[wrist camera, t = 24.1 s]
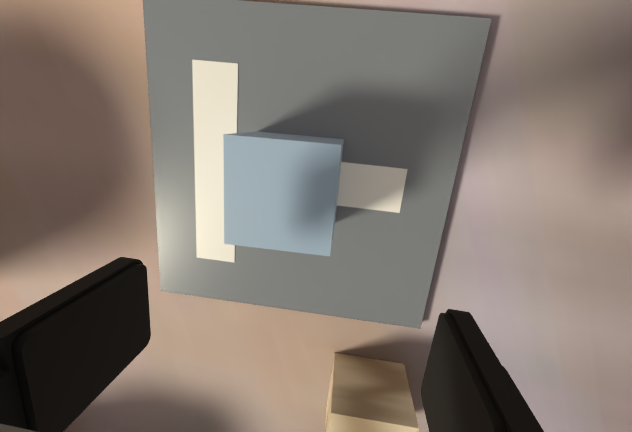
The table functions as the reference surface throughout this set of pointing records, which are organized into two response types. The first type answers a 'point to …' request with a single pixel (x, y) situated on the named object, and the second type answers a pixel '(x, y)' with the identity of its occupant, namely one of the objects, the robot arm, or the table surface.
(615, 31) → the table surface
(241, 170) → the blue cube
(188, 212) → the letter board
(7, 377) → the robot arm
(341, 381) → the wood block
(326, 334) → the table surface
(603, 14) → the table surface
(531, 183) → the table surface
